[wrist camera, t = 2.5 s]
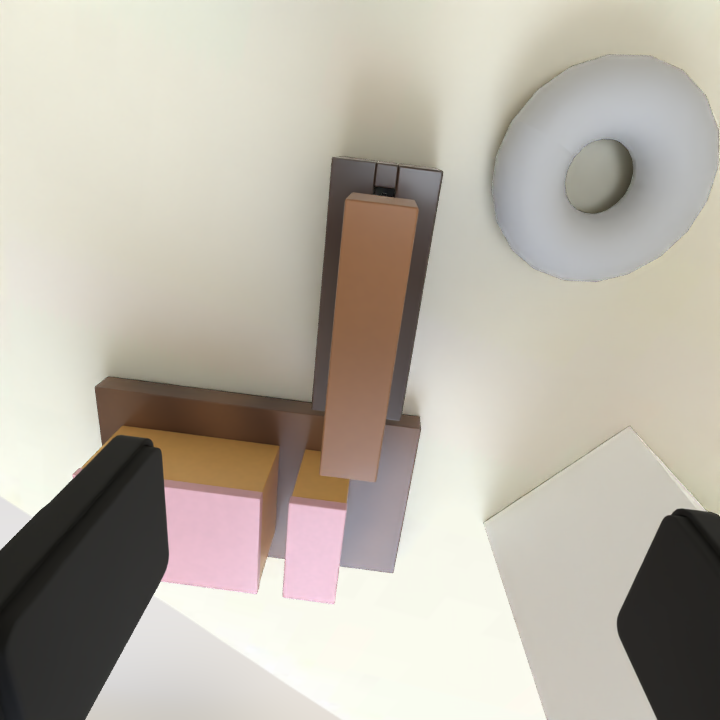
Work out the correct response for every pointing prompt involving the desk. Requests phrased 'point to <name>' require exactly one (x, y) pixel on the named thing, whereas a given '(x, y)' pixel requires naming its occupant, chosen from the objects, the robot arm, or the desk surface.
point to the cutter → (365, 331)
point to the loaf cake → (215, 507)
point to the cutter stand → (425, 192)
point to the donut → (650, 166)
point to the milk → (584, 573)
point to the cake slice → (314, 533)
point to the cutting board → (294, 435)
